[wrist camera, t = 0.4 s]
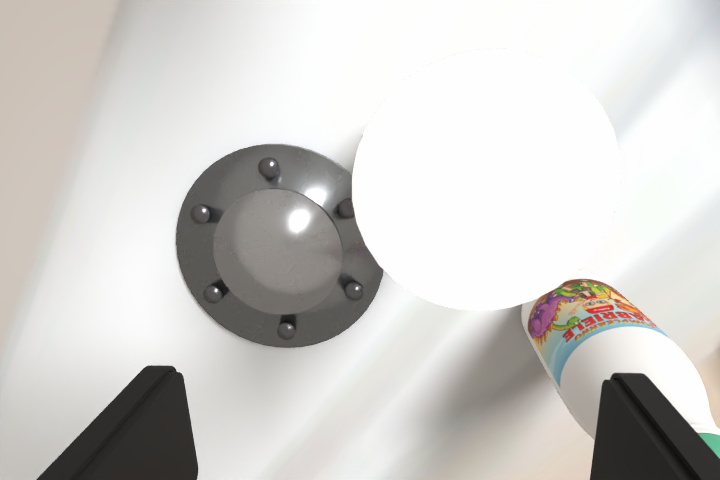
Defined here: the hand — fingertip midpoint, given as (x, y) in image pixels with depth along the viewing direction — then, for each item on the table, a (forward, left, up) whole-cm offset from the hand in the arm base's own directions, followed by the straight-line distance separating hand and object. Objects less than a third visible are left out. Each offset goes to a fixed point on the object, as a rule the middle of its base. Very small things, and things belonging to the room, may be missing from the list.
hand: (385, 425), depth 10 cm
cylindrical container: (-4, +3, -29) cm, 30 cm away
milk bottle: (+11, +14, -29) cm, 34 cm away
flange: (+5, -10, -29) cm, 31 cm away
